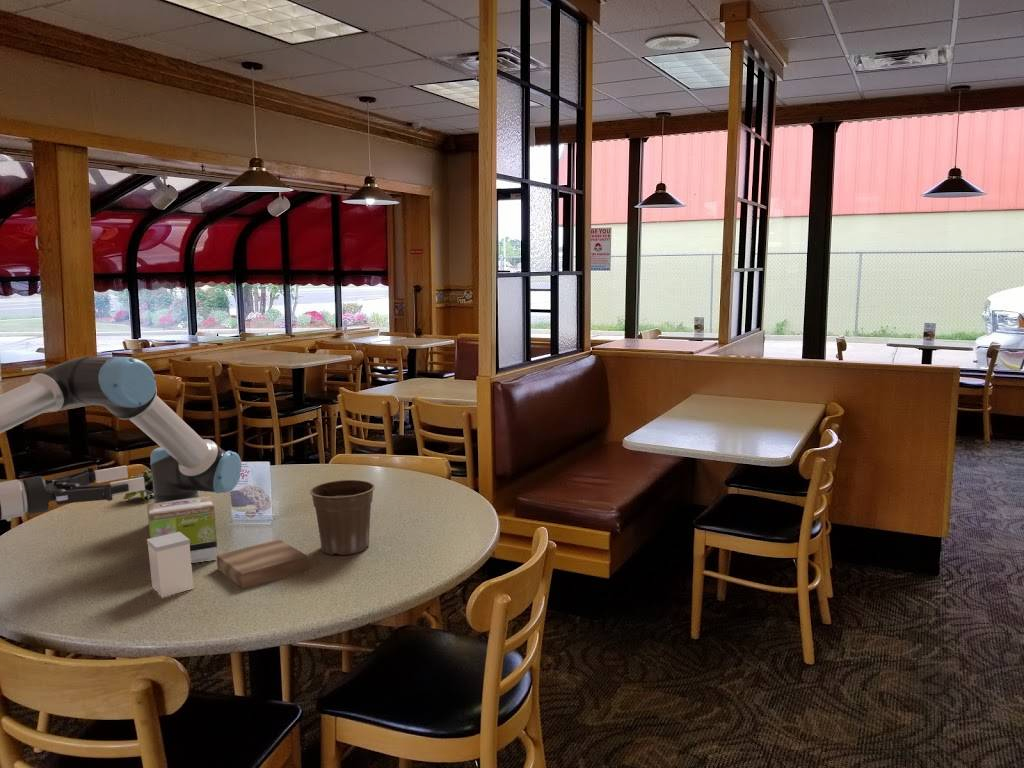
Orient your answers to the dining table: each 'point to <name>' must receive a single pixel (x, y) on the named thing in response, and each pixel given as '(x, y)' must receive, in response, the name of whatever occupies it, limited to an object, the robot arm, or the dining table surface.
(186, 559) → the white lidded box
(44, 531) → the dining table surface
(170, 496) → the robot arm
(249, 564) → the block
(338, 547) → the plant pot
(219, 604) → the dining table surface
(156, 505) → the tea box
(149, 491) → the green leafy plant
